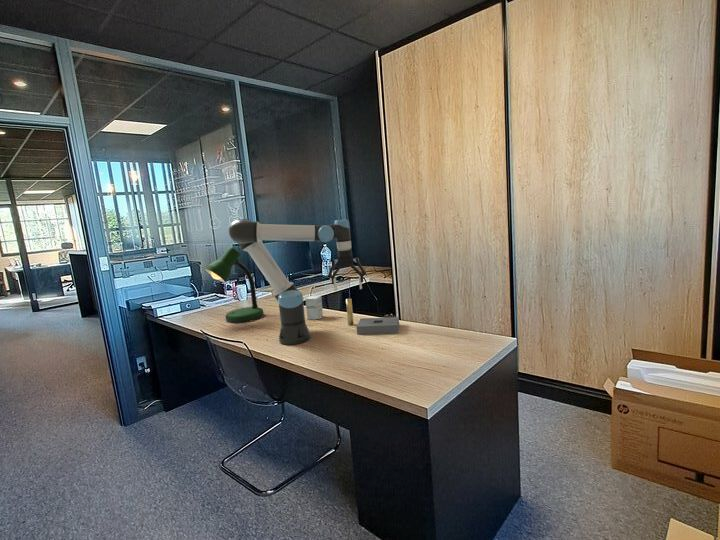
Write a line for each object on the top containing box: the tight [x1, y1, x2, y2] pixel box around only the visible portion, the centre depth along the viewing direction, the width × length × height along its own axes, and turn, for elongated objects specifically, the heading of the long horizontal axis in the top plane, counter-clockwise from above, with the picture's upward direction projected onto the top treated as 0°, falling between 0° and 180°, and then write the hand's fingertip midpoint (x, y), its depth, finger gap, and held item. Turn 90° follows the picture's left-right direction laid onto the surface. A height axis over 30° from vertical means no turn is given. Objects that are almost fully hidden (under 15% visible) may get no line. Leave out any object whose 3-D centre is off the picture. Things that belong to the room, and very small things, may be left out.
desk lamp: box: [204, 246, 265, 324], centre depth 228 cm, size 31×23×45 cm
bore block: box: [356, 316, 400, 335], centre depth 188 cm, size 14×20×4 cm
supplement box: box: [305, 295, 324, 320], centre depth 219 cm, size 7×7×13 cm
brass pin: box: [345, 298, 355, 326], centre depth 199 cm, size 3×3×14 cm
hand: (348, 289), depth 198 cm, fingers open, 13 cm apart
